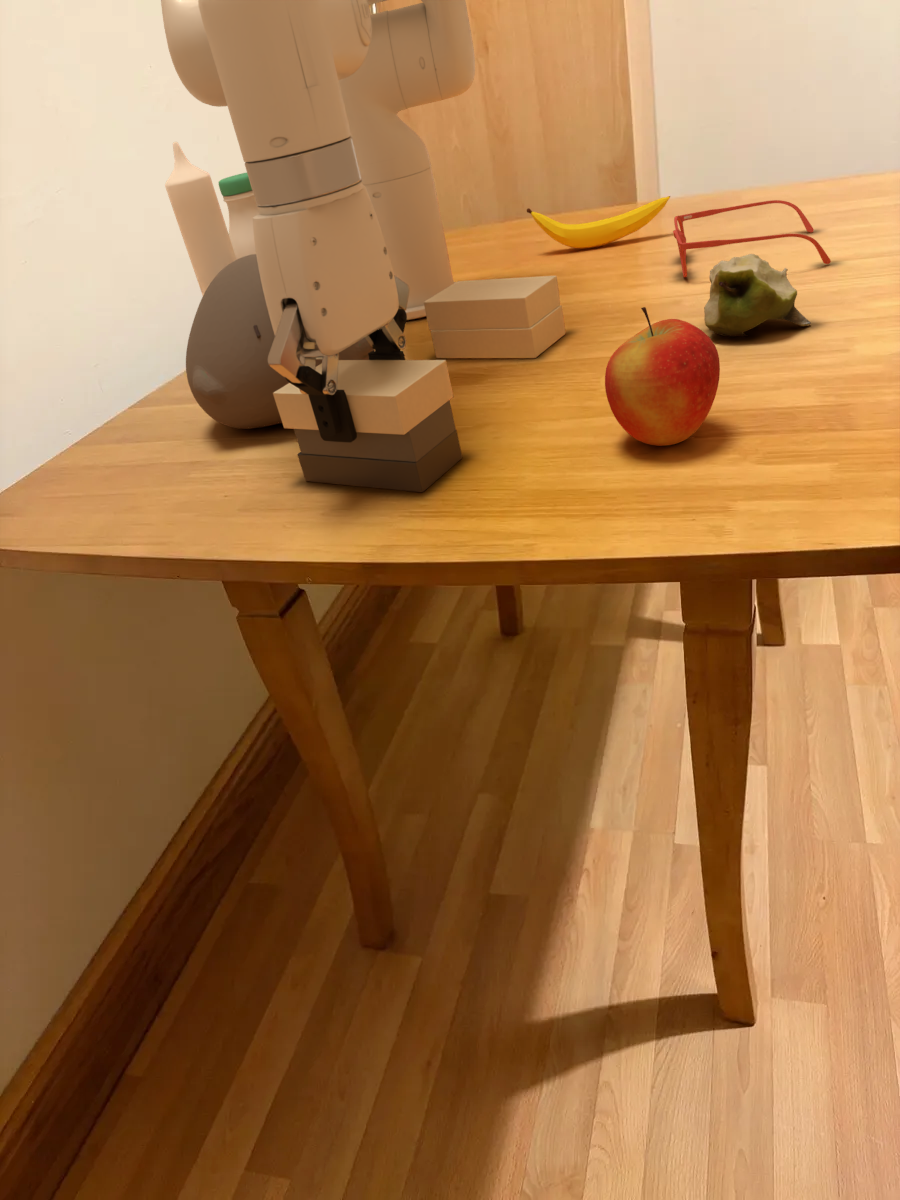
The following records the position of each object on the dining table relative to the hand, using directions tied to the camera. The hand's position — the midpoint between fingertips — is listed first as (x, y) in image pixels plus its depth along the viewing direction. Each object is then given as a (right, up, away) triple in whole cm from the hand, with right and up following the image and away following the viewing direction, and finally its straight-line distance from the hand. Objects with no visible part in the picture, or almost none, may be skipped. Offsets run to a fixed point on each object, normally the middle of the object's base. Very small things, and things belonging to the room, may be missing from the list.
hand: (368, 417), depth 71 cm
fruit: (+34, +11, +13) cm, 38 cm away
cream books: (+12, +12, +24) cm, 29 cm away
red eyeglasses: (+41, +25, +32) cm, 58 cm away
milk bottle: (-13, +16, +39) cm, 44 cm away
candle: (-15, +9, +29) cm, 34 cm away
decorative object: (-9, +5, +20) cm, 23 cm away
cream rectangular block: (0, 0, 0) cm, 0 cm away
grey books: (+1, -4, +2) cm, 5 cm away
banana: (+27, +34, +52) cm, 67 cm away
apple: (+23, -2, -3) cm, 23 cm away
